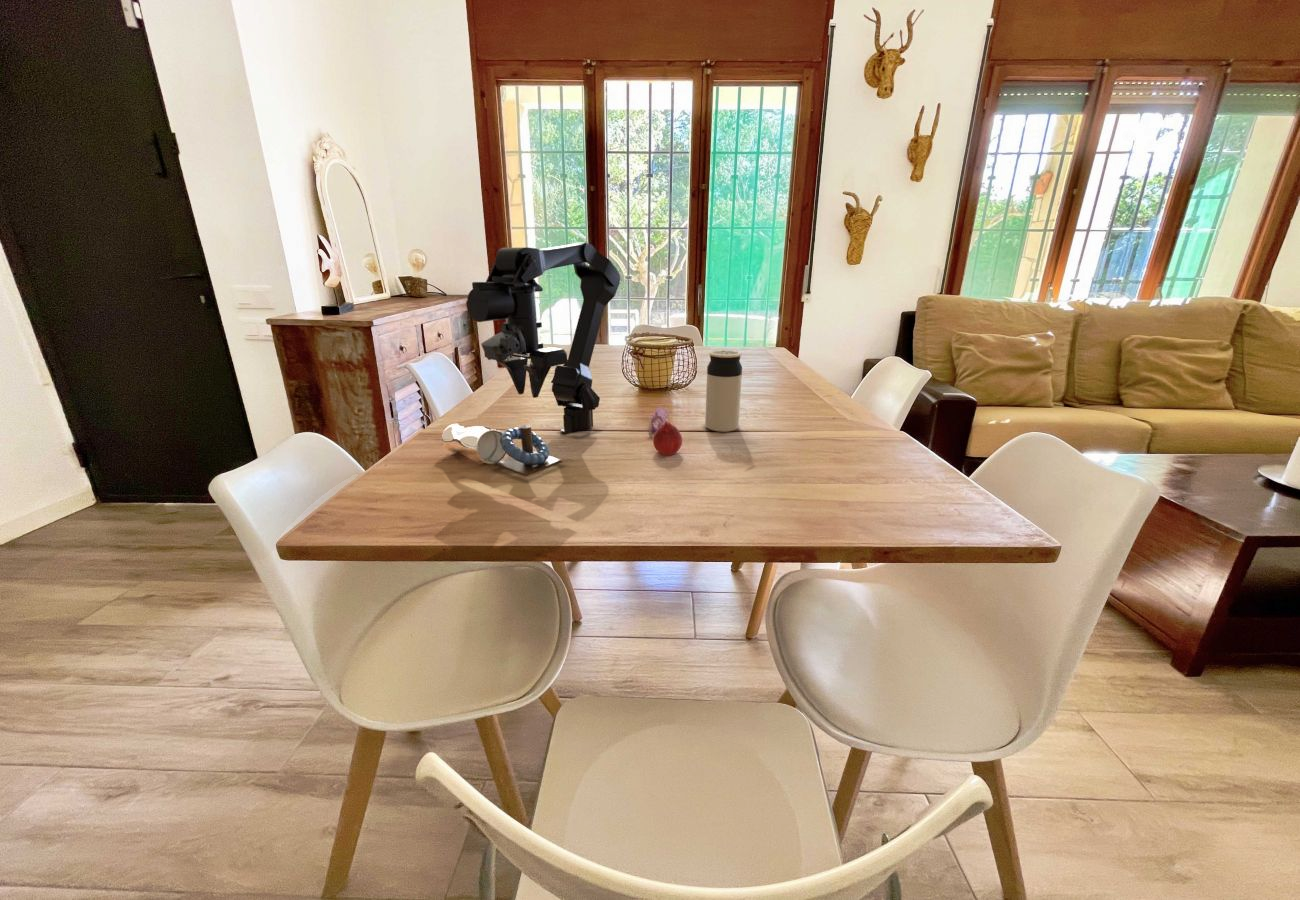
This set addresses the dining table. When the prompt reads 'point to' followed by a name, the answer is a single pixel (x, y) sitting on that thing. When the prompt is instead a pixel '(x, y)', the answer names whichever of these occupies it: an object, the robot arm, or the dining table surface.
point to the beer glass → (474, 443)
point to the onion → (667, 439)
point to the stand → (528, 447)
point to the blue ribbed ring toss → (520, 454)
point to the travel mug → (723, 390)
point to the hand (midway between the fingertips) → (528, 395)
